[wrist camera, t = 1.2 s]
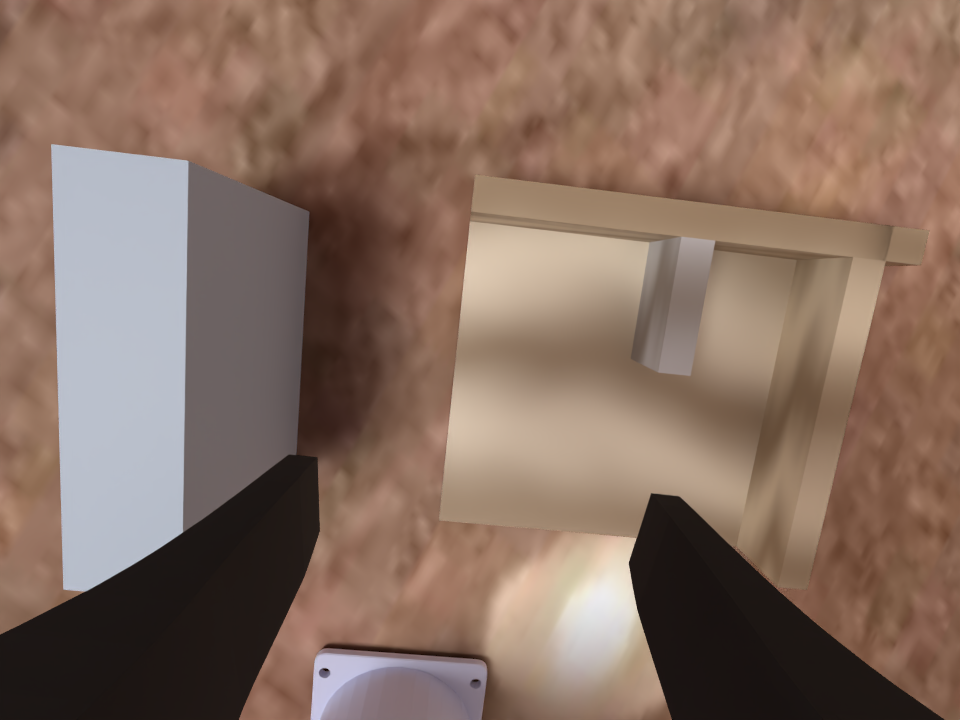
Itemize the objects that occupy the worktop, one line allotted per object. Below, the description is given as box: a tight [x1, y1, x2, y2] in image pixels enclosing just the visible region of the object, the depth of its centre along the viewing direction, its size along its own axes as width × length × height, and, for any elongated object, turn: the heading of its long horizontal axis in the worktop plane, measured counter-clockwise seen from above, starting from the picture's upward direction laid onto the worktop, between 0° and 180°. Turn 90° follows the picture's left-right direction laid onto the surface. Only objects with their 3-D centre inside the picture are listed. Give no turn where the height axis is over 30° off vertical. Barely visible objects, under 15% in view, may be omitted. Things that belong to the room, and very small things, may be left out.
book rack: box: [439, 175, 929, 590], centre depth 20 cm, size 14×16×4 cm
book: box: [51, 144, 309, 591], centre depth 17 cm, size 11×3×9 cm, turn 174°
